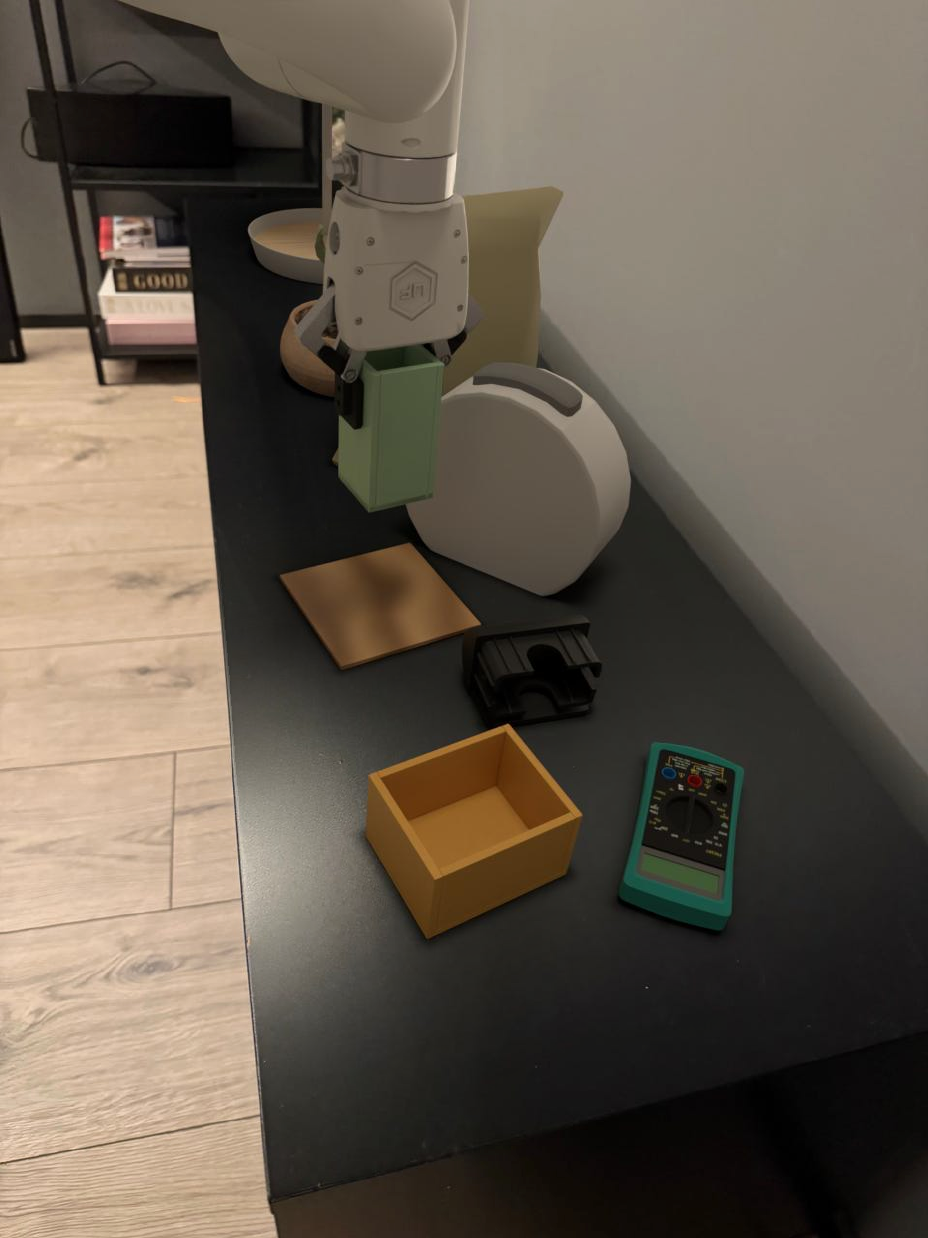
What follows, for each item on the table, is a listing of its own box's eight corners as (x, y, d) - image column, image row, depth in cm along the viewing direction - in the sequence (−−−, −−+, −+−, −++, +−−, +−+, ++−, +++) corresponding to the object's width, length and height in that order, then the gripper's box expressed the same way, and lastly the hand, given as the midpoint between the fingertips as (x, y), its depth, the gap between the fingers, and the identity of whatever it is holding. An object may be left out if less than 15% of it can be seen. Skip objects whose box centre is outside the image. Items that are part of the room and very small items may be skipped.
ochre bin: (426, 940, 60) (434, 880, 56) (365, 835, 66) (368, 774, 62) (566, 874, 65) (583, 815, 61) (497, 783, 71) (508, 723, 67)
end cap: (563, 658, 83) (576, 599, 78) (594, 714, 78) (610, 654, 73) (457, 673, 80) (464, 612, 76) (482, 731, 75) (492, 670, 70)
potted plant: (288, 409, 114) (282, 143, 95) (274, 348, 127) (266, 103, 108) (465, 405, 119) (492, 152, 100) (433, 346, 132) (452, 114, 114)
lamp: (248, 289, 142) (230, -53, 115) (239, 228, 164) (222, -72, 137) (432, 291, 149) (456, -31, 122) (400, 232, 171) (414, -53, 144)
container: (506, 417, 118) (541, 163, 99) (553, 487, 105) (604, 212, 86) (318, 428, 111) (318, 156, 92) (346, 503, 99) (352, 209, 80)
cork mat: (341, 670, 79) (341, 666, 78) (279, 579, 88) (279, 574, 87) (480, 627, 85) (481, 623, 85) (410, 546, 94) (410, 542, 93)
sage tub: (368, 512, 75) (373, 375, 67) (338, 476, 79) (339, 342, 71) (433, 498, 78) (444, 363, 70) (400, 464, 82) (408, 333, 74)
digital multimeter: (737, 781, 73) (748, 756, 71) (721, 939, 62) (733, 914, 60) (646, 755, 75) (654, 730, 73) (614, 905, 63) (623, 880, 61)
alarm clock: (611, 575, 93) (656, 394, 81) (582, 613, 88) (625, 425, 76) (431, 504, 100) (447, 327, 88) (394, 535, 95) (405, 352, 82)
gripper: (302, 197, 56) (306, 456, 68) (535, 183, 64) (503, 418, 75) (258, 163, 61) (269, 411, 73) (479, 154, 69) (457, 379, 80)
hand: (388, 412), depth 74 cm, fingers closed on sage tub, 6 cm apart
